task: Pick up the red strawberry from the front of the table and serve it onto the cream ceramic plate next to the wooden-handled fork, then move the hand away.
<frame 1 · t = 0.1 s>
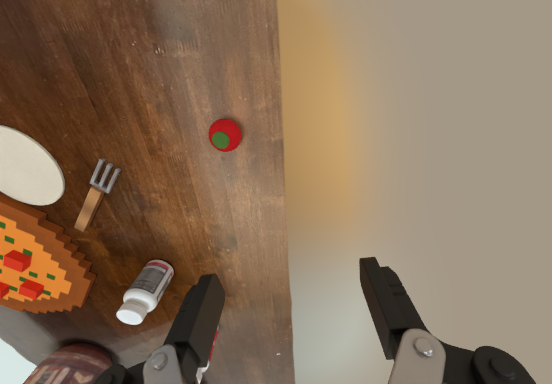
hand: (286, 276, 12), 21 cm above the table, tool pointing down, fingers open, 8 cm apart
plate: (19, 167, 33), on the table
pottery: (90, 352, 61), on the table
pizza: (8, 254, 43), on the table
fork: (101, 186, 34), on the table
pill bottle 2: (161, 267, 43), on the table
strawberry: (228, 131, 29), on the table
pill bottle: (206, 322, 51), on the table
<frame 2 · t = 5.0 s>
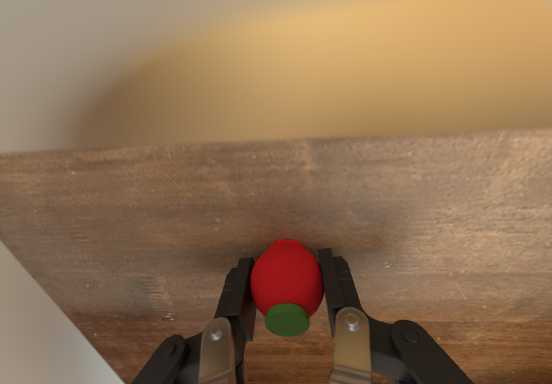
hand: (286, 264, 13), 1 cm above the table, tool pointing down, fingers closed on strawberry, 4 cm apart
strawberry: (287, 254, 14), on the table, touching gripper
when the fingers open (1 cm above the table, at t = 12.9 s): strawberry stays where it is, resting on plate.
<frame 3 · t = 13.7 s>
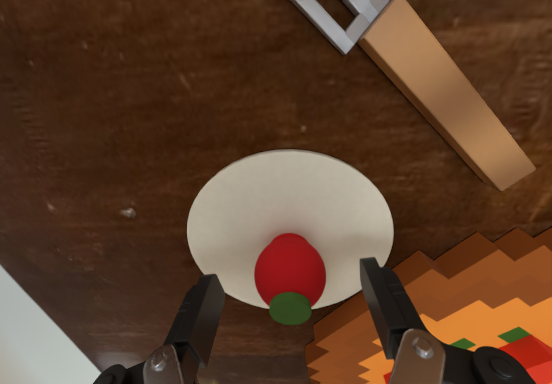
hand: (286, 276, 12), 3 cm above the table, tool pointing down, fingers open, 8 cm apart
plate: (287, 244, 14), on the table
pizza: (483, 360, 20), on the table
fork: (370, 22, 9), on the table
strawberry: (289, 248, 14), resting on plate
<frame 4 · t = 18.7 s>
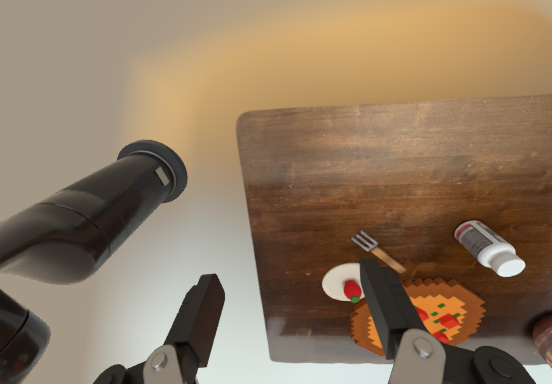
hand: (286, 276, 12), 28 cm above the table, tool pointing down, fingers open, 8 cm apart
plate: (349, 282, 53), on the table
pizza: (411, 318, 59), on the table
fork: (372, 245, 47), on the table
pill bottle 2: (467, 229, 44), on the table
strawberry: (350, 283, 52), resting on plate
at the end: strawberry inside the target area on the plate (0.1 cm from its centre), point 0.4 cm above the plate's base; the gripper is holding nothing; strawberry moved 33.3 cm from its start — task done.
